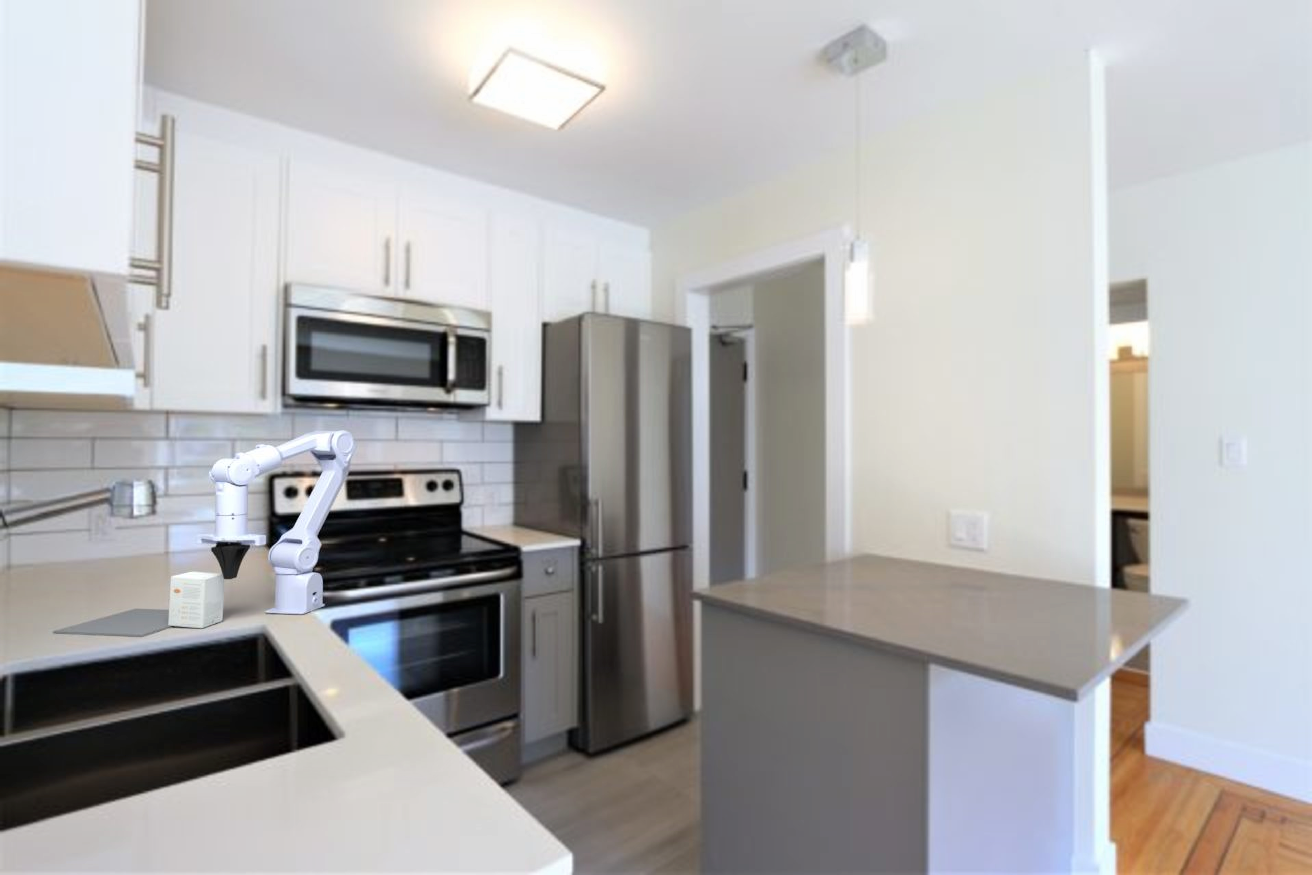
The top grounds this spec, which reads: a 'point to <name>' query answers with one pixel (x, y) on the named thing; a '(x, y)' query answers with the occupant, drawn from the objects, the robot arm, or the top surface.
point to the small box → (196, 599)
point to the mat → (123, 624)
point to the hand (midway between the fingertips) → (230, 578)
